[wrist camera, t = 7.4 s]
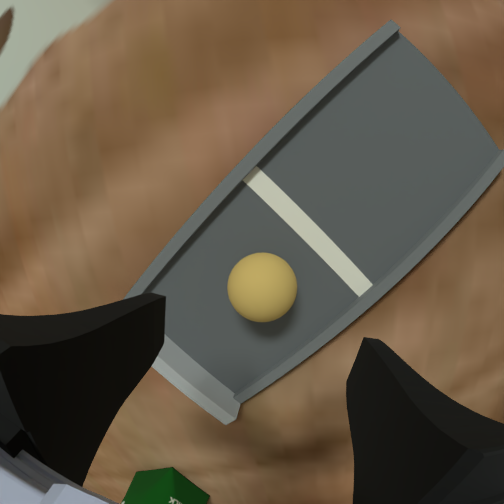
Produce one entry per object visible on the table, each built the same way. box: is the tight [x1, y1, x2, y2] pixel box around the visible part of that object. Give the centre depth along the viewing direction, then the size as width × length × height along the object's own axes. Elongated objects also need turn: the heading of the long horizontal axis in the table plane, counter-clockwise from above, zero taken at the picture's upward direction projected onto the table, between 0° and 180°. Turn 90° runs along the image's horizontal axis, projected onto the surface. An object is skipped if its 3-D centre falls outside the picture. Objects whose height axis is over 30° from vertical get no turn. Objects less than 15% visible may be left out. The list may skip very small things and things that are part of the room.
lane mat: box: [123, 20, 504, 425], centre depth 18 cm, size 12×28×3 cm, turn 137°
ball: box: [227, 252, 297, 322], centre depth 18 cm, size 4×4×4 cm
